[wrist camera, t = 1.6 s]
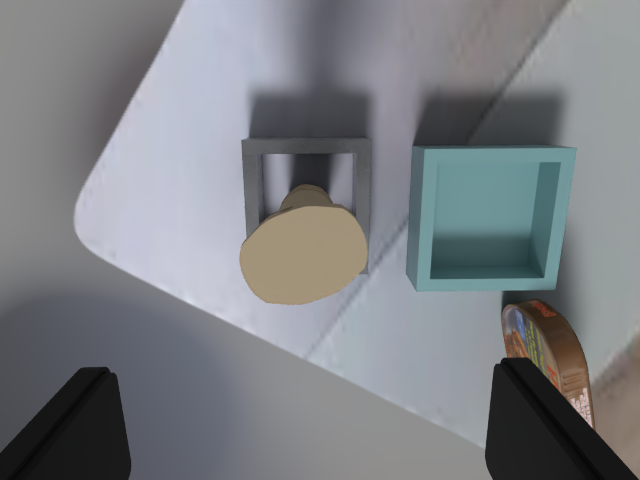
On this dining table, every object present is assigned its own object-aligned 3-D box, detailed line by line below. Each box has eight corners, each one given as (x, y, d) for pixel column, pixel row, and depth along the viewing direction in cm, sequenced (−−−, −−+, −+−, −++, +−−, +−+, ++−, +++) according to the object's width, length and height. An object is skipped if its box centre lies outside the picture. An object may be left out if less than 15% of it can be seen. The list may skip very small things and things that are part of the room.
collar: (248, 137, 34) (241, 139, 31) (365, 137, 35) (371, 139, 31) (254, 261, 37) (248, 275, 34) (363, 260, 37) (367, 274, 34)
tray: (412, 145, 35) (424, 149, 31) (547, 144, 35) (576, 148, 31) (406, 273, 38) (416, 291, 34) (530, 272, 38) (555, 289, 34)
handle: (353, 214, 36) (379, 277, 22) (283, 240, 37) (262, 319, 22) (334, 160, 35) (347, 189, 21) (261, 188, 36) (224, 235, 21)
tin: (495, 289, 38) (543, 335, 30) (530, 280, 38) (588, 324, 30) (518, 426, 42) (566, 499, 34) (550, 419, 42) (606, 491, 34)
